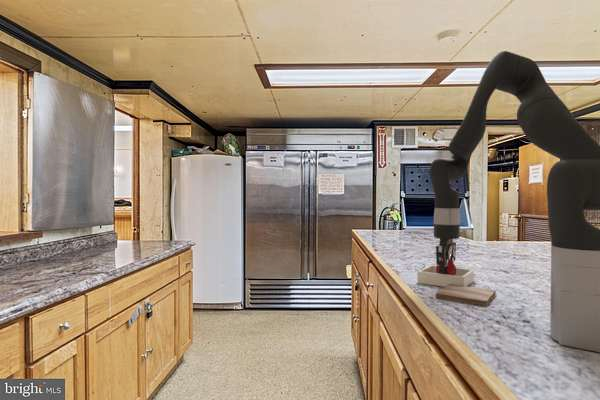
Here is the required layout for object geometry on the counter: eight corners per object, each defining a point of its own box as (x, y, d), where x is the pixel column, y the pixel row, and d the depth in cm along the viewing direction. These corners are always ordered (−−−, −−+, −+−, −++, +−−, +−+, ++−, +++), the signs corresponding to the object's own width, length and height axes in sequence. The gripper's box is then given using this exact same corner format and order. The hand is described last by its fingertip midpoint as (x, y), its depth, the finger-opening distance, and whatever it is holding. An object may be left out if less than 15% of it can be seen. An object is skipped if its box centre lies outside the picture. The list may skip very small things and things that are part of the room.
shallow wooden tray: (463, 289, 107) (464, 277, 107) (417, 282, 114) (417, 271, 114) (473, 281, 117) (474, 269, 117) (430, 275, 125) (430, 265, 125)
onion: (434, 282, 115) (435, 256, 115) (437, 279, 120) (437, 254, 120) (455, 284, 112) (455, 258, 112) (457, 281, 117) (457, 255, 117)
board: (486, 306, 90) (486, 301, 90) (435, 298, 97) (435, 293, 97) (495, 294, 101) (495, 290, 101) (449, 288, 108) (449, 284, 108)
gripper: (453, 224, 108) (452, 282, 108) (464, 222, 119) (464, 274, 120) (427, 223, 112) (426, 279, 112) (440, 221, 124) (440, 271, 124)
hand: (446, 276), depth 116 cm, fingers closed on onion, 6 cm apart
